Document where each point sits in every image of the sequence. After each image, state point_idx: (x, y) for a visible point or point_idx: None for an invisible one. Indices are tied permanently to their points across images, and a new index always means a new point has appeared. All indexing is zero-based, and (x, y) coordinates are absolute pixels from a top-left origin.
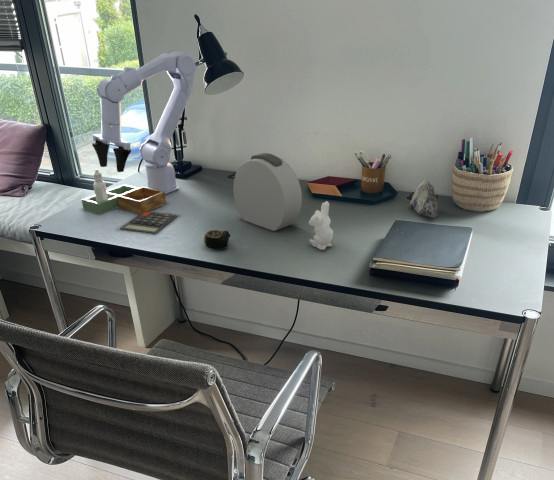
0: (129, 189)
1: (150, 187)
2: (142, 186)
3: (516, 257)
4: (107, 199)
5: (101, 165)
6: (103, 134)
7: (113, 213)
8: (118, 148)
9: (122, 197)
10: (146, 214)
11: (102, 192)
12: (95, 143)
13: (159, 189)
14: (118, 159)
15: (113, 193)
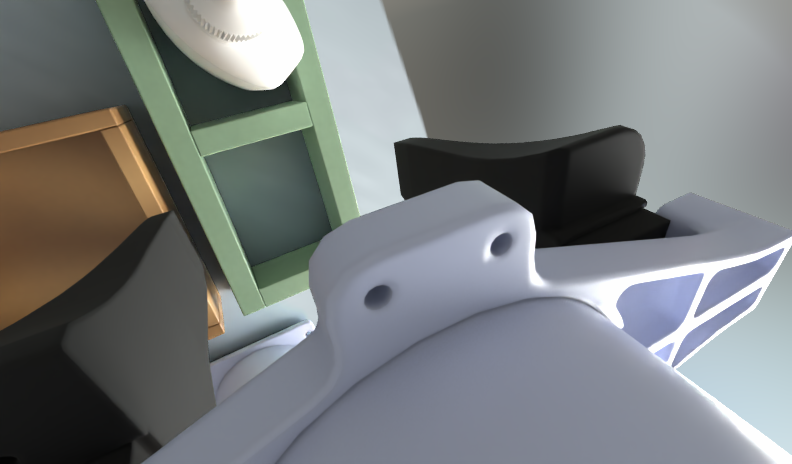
0: (307, 262)
1: (264, 365)
2: (221, 331)
3: None
4: (137, 31)
5: (399, 143)
6: (574, 422)
7: (25, 10)
8: (70, 448)
9: (38, 123)
10: None
11: None
12: (611, 180)
13: (221, 397)
14: (68, 290)
15: (251, 139)
